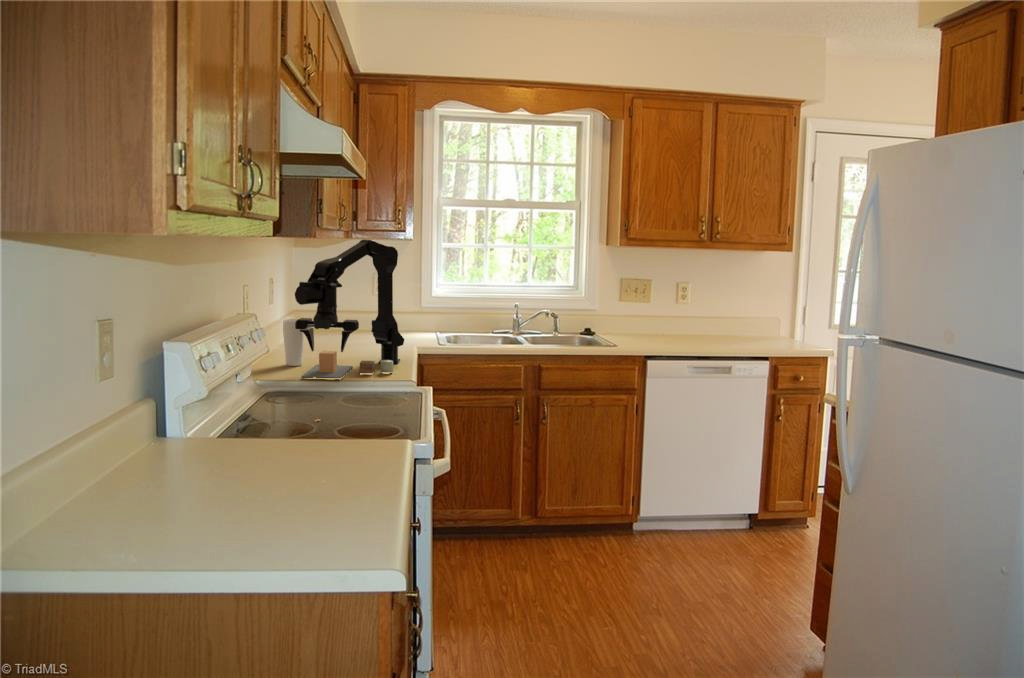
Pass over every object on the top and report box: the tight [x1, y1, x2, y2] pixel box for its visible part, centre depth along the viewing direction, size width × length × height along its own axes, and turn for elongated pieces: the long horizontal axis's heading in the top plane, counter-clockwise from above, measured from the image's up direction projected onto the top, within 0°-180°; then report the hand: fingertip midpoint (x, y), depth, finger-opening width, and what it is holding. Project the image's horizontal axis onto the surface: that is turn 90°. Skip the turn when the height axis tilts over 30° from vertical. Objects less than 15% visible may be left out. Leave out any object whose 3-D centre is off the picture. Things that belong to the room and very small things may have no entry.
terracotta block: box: [318, 350, 338, 373], centre depth 249 cm, size 4×4×6 cm
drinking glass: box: [282, 318, 305, 367], centre depth 261 cm, size 7×7×15 cm
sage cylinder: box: [380, 360, 394, 373], centre depth 254 cm, size 4×4×4 cm
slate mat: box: [300, 364, 354, 378], centre depth 250 cm, size 18×12×1 cm, turn 0°
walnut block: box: [359, 360, 375, 374], centre depth 252 cm, size 4×4×4 cm
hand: (327, 351), depth 249 cm, fingers open, 9 cm apart
